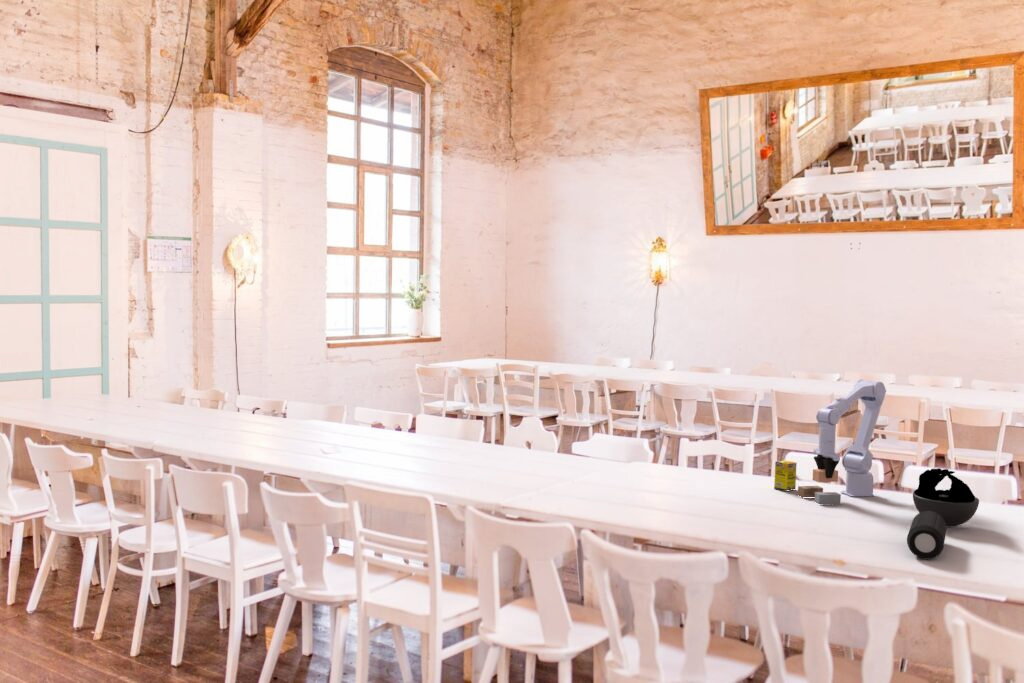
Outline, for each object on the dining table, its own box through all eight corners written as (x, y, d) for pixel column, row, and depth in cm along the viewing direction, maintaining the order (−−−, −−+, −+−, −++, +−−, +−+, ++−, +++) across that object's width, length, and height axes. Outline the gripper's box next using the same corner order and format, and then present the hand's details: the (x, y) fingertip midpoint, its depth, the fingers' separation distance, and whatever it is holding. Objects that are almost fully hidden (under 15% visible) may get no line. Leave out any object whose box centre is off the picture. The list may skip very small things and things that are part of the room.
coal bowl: (921, 515, 324) (923, 462, 323) (984, 525, 311) (987, 470, 310) (903, 526, 308) (906, 470, 307) (969, 537, 296) (971, 478, 295)
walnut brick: (816, 496, 353) (817, 485, 353) (822, 498, 349) (823, 488, 349) (797, 496, 351) (798, 486, 351) (803, 499, 347) (803, 488, 347)
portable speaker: (942, 563, 266) (944, 529, 266) (905, 558, 271) (906, 524, 270) (946, 543, 289) (947, 511, 289) (911, 538, 294) (913, 507, 293)
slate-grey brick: (835, 503, 342) (835, 492, 342) (840, 505, 338) (840, 494, 338) (814, 503, 341) (814, 492, 341) (818, 505, 337) (819, 494, 337)
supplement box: (787, 491, 359) (788, 463, 358) (773, 489, 363) (774, 461, 363) (795, 490, 362) (797, 462, 362) (782, 487, 367) (783, 459, 366)
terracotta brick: (831, 479, 349) (832, 468, 349) (837, 481, 345) (838, 470, 345) (812, 480, 347) (812, 469, 347) (818, 482, 343) (818, 471, 343)
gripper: (806, 437, 352) (805, 473, 352) (828, 443, 338) (826, 481, 338) (823, 437, 353) (822, 472, 354) (845, 443, 339) (844, 480, 340)
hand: (825, 476), depth 346 cm, fingers closed on terracotta brick, 4 cm apart
